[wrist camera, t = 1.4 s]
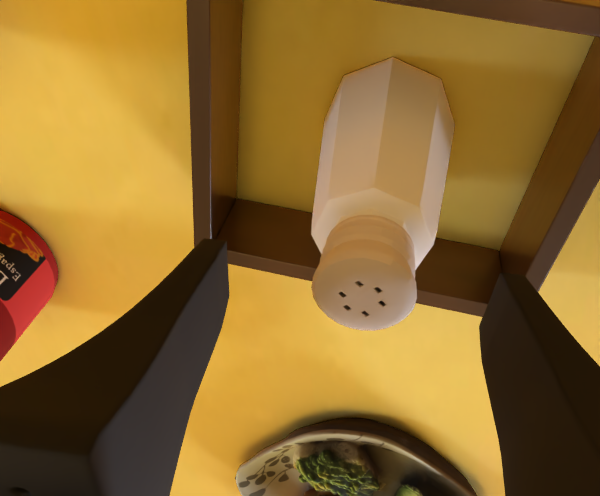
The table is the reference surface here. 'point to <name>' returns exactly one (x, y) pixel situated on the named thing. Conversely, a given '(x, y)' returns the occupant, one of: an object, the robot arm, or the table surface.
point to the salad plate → (350, 464)
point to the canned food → (22, 278)
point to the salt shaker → (379, 192)
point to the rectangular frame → (444, 254)
